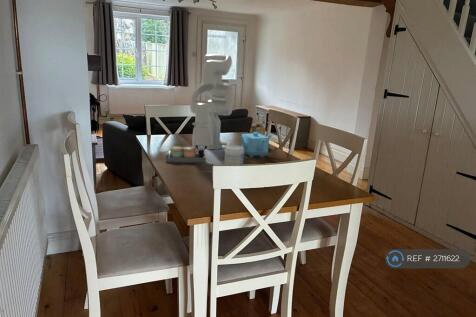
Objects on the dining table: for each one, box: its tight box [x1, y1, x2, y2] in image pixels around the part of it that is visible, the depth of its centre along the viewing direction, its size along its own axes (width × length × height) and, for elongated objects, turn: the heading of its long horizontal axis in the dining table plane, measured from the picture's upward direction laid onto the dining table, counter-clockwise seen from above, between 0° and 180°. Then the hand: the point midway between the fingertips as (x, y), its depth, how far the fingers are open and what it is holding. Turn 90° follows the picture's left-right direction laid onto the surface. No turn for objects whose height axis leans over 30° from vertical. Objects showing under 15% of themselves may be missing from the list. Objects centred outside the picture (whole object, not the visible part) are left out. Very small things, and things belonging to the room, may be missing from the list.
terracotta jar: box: [182, 146, 197, 158], centre depth 202 cm, size 7×7×7 cm
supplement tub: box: [224, 144, 245, 166], centre depth 181 cm, size 10×10×15 cm
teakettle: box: [237, 132, 273, 159], centre depth 221 cm, size 19×19×15 cm
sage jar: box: [169, 146, 183, 158], centre depth 201 cm, size 7×7×7 cm
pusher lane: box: [165, 150, 206, 163], centre depth 203 cm, size 22×9×4 cm, turn 99°
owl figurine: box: [248, 121, 266, 136], centre depth 246 cm, size 18×12×17 cm, turn 24°
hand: (201, 156), depth 204 cm, fingers closed
